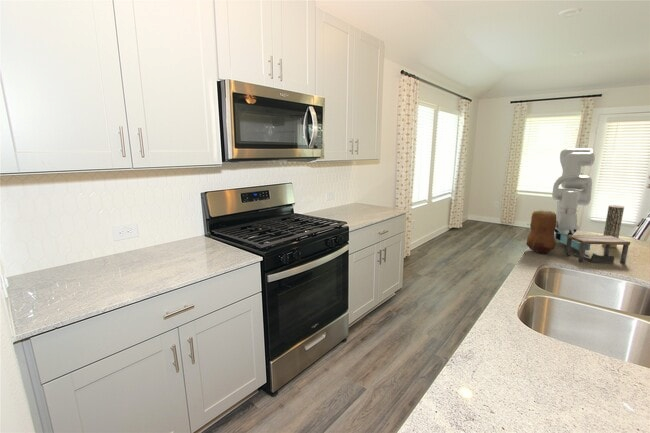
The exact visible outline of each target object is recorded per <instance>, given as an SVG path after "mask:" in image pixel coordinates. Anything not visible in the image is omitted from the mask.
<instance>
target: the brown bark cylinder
mask: <svg viewBox="0 0 650 433" xmlns="http://www.w3.org/2000/svg"><path fill="white" fill-rule="evenodd" d="M624 210H625V206H624V205H619V204H617V205H616V204H609V205H608V208H607V214H606V219H605V225H604V230H603V235H605V236H613V237H616V238H619V237H620V231H621V227H622V226H621V225H622V221H623V215H624ZM619 239H620V238H619ZM601 245H602V246H603V247H605V245H606V244H601ZM617 247H618V245H610V249H612V248H615V249H616V248H617Z"/></svg>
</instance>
